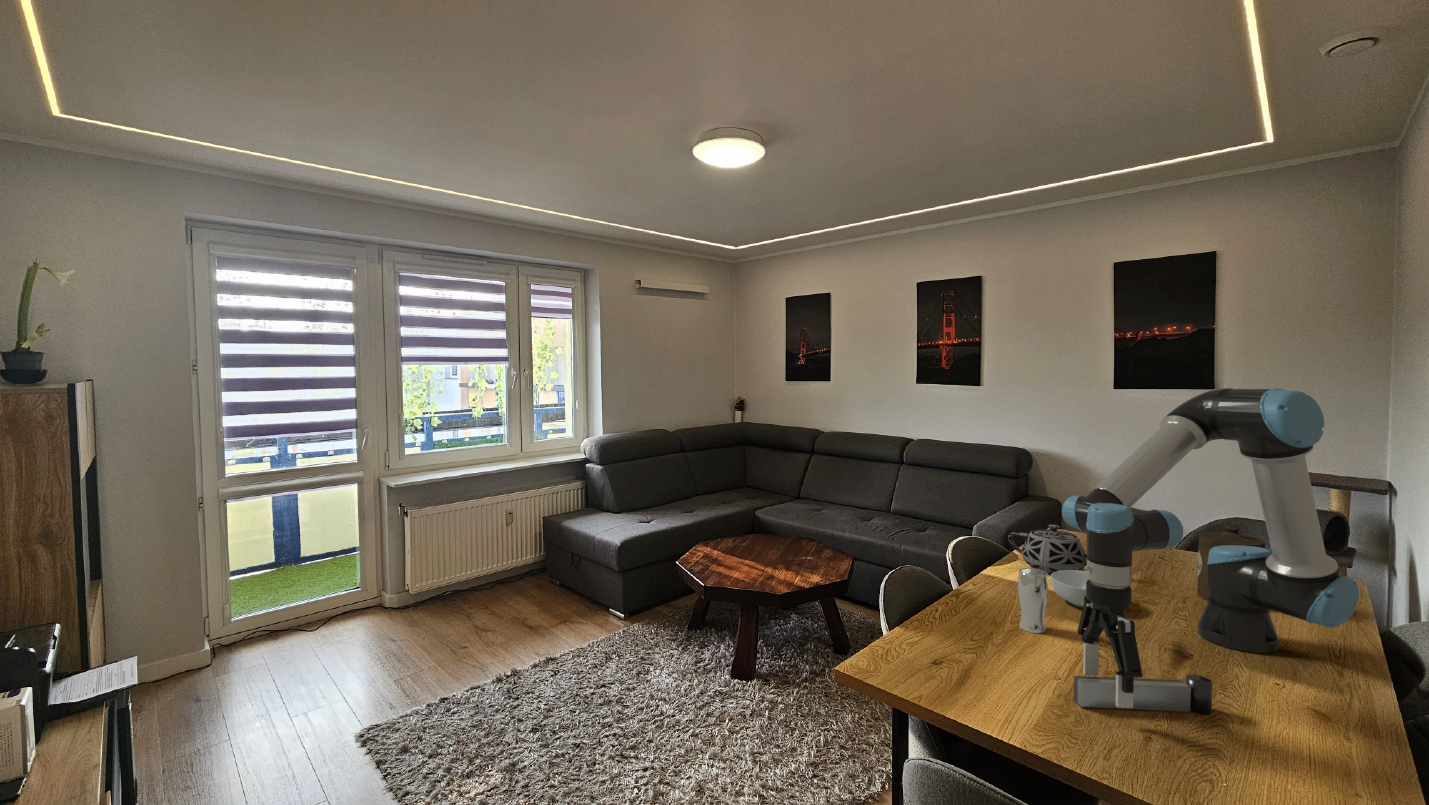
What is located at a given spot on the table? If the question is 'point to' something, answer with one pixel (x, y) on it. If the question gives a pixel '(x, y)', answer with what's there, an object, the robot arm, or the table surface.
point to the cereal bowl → (1070, 585)
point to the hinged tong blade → (1135, 695)
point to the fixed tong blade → (1198, 684)
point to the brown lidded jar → (1219, 539)
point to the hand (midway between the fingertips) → (1106, 689)
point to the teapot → (1051, 550)
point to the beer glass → (1032, 599)
